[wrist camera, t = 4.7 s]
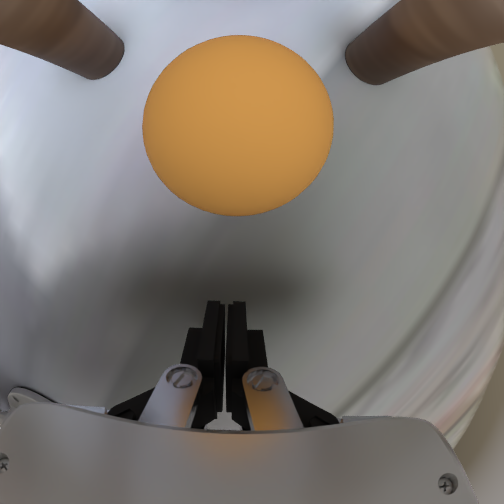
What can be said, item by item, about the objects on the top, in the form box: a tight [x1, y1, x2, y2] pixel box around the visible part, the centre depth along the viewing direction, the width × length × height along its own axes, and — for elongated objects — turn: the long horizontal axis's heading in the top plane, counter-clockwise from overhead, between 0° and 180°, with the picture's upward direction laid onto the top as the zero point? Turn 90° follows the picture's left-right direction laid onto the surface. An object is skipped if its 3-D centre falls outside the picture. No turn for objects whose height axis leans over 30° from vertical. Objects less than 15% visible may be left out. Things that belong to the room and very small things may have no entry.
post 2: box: [345, 0, 504, 85], centre depth 5 cm, size 3×3×9 cm
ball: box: [142, 35, 334, 216], centre depth 8 cm, size 6×6×6 cm
